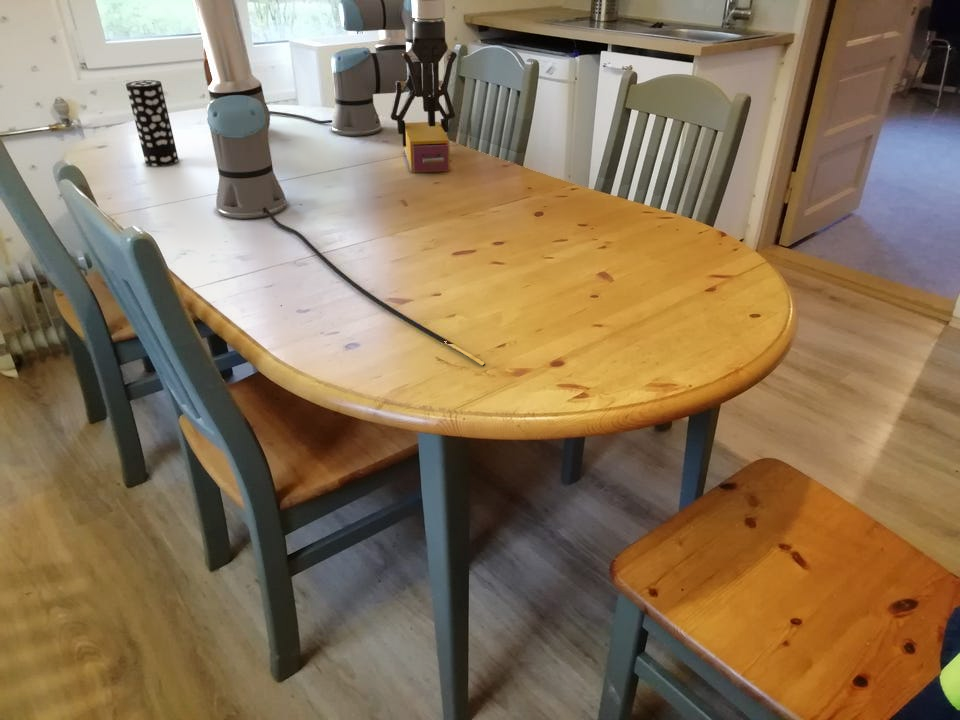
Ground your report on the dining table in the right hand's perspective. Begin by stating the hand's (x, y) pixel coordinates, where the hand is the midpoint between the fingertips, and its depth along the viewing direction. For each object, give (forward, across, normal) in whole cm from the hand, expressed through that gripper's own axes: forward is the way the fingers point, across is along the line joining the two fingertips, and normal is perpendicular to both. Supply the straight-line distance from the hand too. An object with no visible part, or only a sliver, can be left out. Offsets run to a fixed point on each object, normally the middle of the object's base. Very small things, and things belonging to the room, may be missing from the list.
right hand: (423, 144), depth 193 cm
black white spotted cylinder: (-7, +71, -4) cm, 71 cm away
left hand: (-10, 0, +20) cm, 22 cm away
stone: (+3, +55, -33) cm, 64 cm away
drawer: (+2, 0, +11) cm, 11 cm away
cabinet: (+3, 0, +5) cm, 6 cm away
